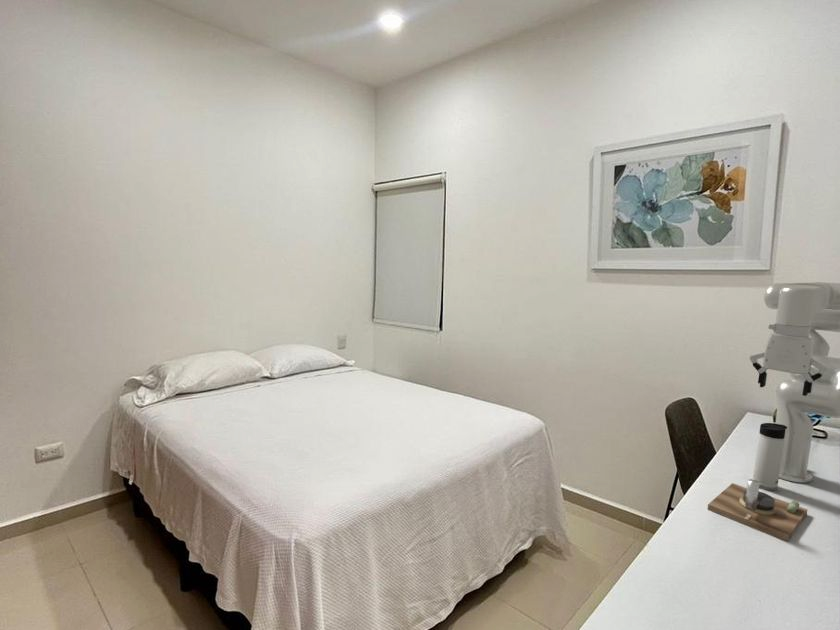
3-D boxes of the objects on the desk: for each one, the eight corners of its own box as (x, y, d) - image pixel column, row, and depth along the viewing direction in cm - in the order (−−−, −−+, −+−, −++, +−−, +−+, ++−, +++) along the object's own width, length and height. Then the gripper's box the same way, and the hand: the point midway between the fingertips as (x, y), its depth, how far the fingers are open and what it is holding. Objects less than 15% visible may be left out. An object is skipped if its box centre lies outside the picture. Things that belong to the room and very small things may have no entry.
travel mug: (782, 492, 138) (792, 429, 135) (758, 489, 139) (767, 427, 137) (771, 482, 144) (780, 422, 141) (748, 479, 145) (756, 419, 143)
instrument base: (731, 487, 140) (733, 477, 140) (806, 514, 126) (808, 503, 126) (707, 509, 128) (708, 498, 127) (787, 541, 114) (789, 529, 113)
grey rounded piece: (732, 508, 123) (736, 477, 122) (747, 493, 131) (751, 464, 130) (764, 520, 118) (768, 488, 117) (776, 504, 126) (781, 474, 125)
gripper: (750, 327, 130) (743, 385, 133) (830, 337, 117) (820, 401, 120) (757, 325, 135) (750, 381, 137) (835, 334, 122) (825, 396, 125)
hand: (783, 390), depth 129 cm, fingers open, 9 cm apart
